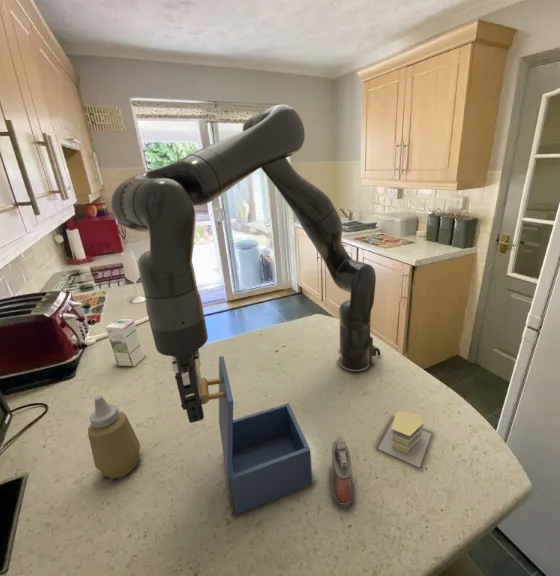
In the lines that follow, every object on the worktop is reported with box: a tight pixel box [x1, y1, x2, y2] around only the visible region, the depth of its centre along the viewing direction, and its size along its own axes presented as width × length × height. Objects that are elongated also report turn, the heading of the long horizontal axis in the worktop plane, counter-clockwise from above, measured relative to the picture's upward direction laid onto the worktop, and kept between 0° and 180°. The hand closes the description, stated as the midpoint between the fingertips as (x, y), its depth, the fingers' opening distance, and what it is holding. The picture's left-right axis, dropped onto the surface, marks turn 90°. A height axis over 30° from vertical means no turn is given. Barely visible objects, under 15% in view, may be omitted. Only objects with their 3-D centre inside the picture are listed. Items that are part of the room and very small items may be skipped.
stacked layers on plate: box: [377, 410, 432, 469], centre depth 68 cm, size 10×9×6 cm
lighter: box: [331, 436, 352, 508], centre depth 58 cm, size 8×3×10 cm, turn 5°
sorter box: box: [229, 403, 313, 515], centre depth 62 cm, size 15×14×9 cm
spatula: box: [84, 316, 149, 346], centre depth 124 cm, size 28×4×3 cm, turn 148°
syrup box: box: [105, 318, 145, 367], centre depth 100 cm, size 6×6×14 cm
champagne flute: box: [120, 251, 146, 304], centre depth 148 cm, size 7×7×24 cm
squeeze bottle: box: [87, 395, 141, 479], centre depth 62 cm, size 8×8×18 cm
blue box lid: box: [199, 355, 234, 479], centre depth 55 cm, size 15×14×5 cm
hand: (195, 402), depth 53 cm, fingers open, 8 cm apart
